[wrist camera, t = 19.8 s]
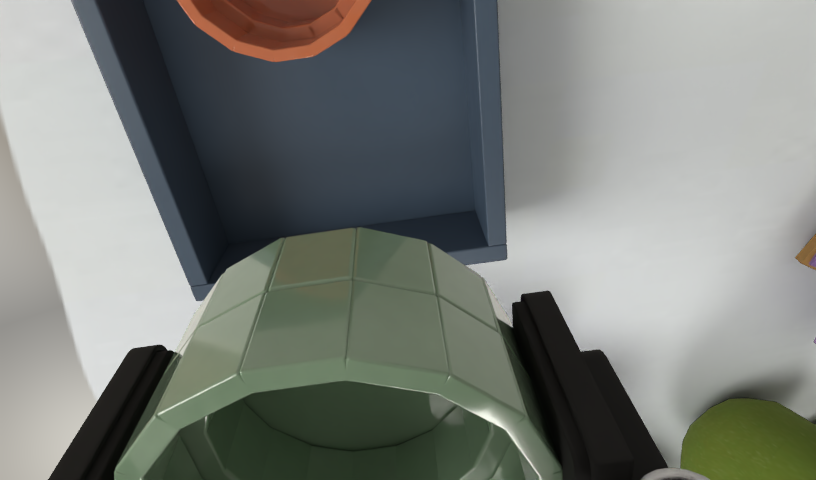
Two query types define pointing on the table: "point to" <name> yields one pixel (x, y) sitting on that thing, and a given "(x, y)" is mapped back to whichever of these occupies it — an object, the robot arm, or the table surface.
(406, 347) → the sage bowl
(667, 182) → the table surface
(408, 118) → the tub
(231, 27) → the terracotta bowl
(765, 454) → the olive green egg shape
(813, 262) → the toy figure
